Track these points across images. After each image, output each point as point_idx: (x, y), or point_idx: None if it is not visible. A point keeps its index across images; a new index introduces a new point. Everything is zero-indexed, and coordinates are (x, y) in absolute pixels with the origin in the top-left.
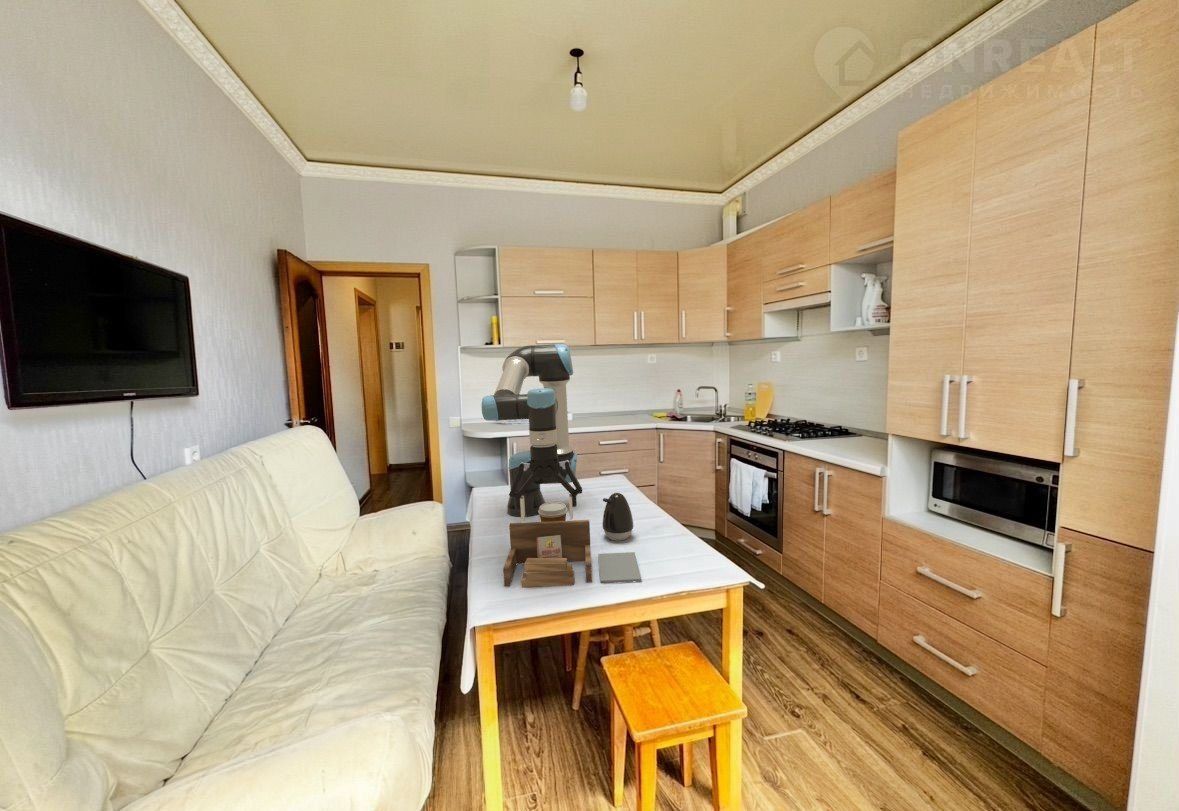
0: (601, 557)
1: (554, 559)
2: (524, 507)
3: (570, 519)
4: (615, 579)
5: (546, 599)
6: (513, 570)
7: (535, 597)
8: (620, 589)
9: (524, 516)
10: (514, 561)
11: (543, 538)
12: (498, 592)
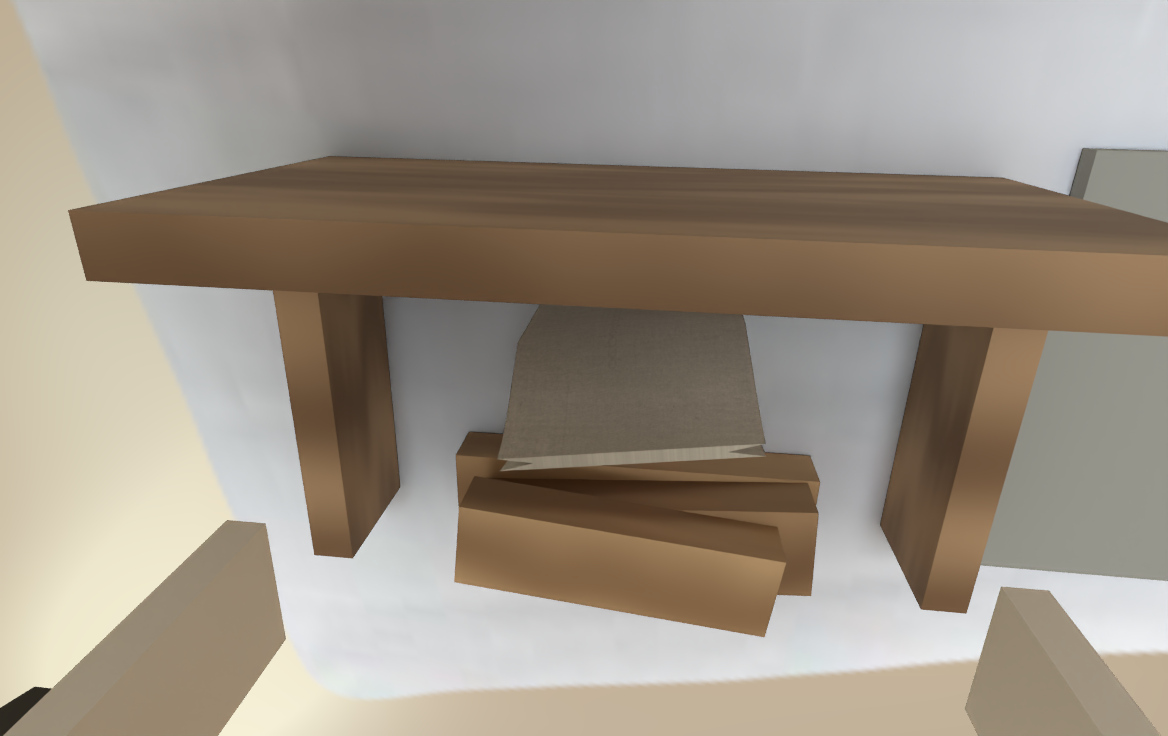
0: None
1: (682, 564)
2: (146, 675)
3: (969, 712)
4: (1087, 568)
5: (627, 639)
6: (377, 360)
7: (566, 613)
8: (1076, 625)
9: (247, 616)
10: (354, 310)
11: (573, 462)
12: None
